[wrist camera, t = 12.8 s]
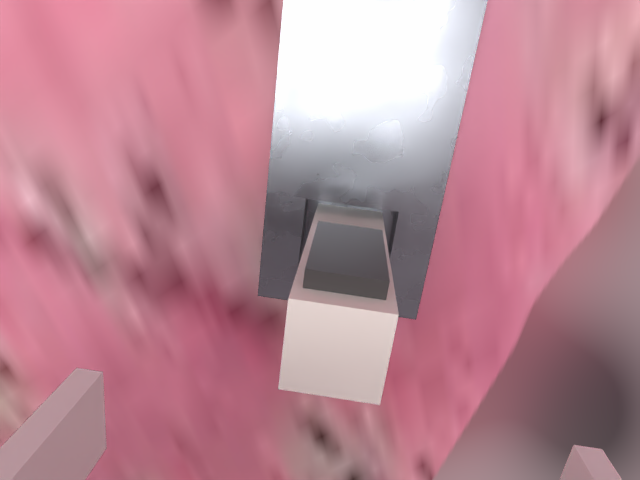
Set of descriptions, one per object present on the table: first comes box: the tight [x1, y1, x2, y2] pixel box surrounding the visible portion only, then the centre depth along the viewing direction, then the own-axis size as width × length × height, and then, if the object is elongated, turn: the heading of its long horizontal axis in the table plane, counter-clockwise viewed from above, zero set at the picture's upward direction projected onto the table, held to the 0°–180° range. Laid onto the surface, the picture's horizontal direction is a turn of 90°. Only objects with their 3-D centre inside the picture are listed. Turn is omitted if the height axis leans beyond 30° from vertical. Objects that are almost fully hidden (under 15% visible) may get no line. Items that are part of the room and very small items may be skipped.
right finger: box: [278, 203, 399, 405], centre depth 23 cm, size 5×4×13 cm
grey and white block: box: [258, 0, 488, 319], centre depth 21 cm, size 10×26×14 cm, turn 173°
